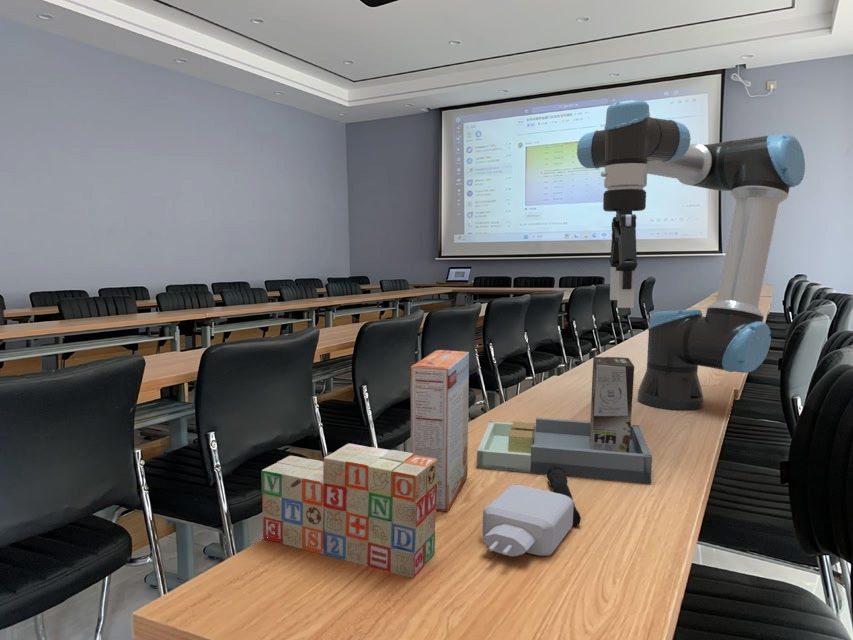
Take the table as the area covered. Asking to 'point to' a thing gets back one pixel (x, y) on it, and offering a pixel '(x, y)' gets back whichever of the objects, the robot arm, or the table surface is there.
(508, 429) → the tray
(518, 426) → the tan wooden cube
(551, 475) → the flashlight
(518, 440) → the tan yellow cube
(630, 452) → the blue gray tray
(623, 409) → the coffee box
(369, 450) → the stack of blocks
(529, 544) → the charger
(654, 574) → the table surface
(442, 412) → the cracker box
